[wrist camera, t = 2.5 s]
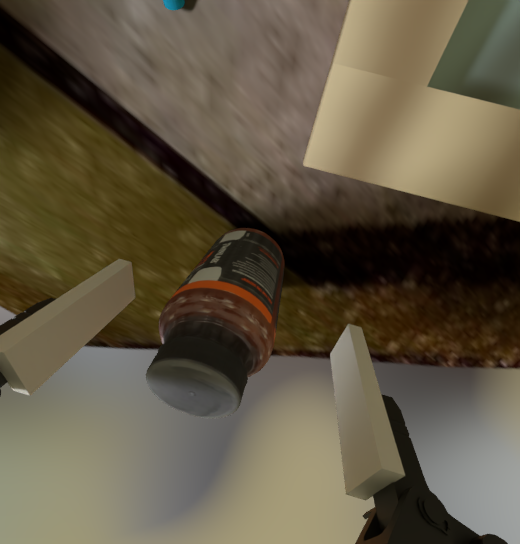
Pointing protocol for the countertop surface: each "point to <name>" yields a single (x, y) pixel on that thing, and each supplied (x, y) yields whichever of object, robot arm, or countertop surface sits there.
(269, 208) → the countertop surface
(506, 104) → the socket holder
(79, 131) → the countertop surface
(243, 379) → the supplement bottle
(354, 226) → the countertop surface
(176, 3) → the gear
